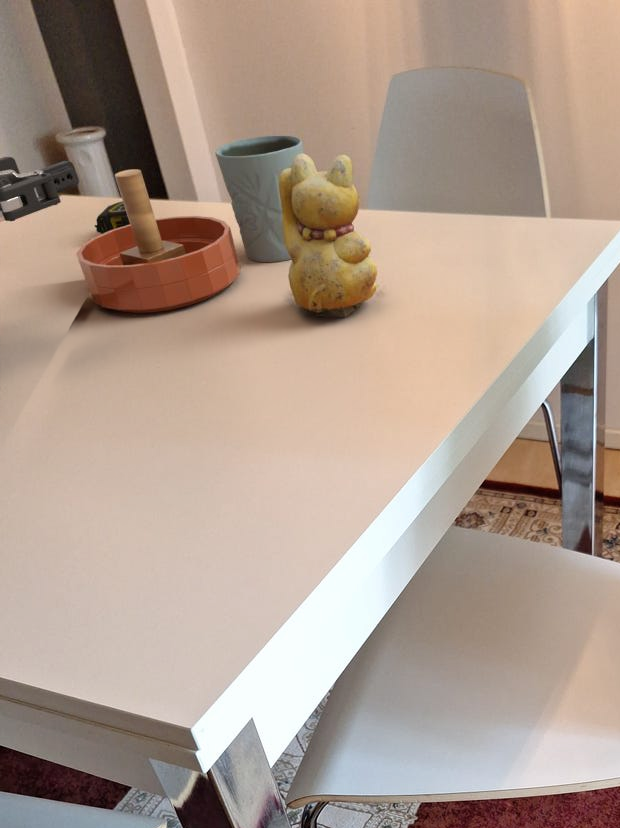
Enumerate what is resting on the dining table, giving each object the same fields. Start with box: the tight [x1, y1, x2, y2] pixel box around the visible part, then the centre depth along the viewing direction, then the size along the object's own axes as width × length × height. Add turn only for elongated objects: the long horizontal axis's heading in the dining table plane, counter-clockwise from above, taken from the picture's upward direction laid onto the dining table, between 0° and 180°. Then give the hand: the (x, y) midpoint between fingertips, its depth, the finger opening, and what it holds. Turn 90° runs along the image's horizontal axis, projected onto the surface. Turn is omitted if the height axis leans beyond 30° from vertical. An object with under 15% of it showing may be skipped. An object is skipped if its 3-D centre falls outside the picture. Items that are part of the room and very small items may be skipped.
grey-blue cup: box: [214, 135, 304, 263], centre depth 112 cm, size 10×10×12 cm
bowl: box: [75, 215, 241, 314], centre depth 107 cm, size 17×17×6 cm
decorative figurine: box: [279, 152, 378, 318], centre depth 94 cm, size 10×8×15 cm
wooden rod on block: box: [114, 168, 186, 265], centre depth 104 cm, size 5×5×12 cm
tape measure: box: [94, 200, 130, 235], centre depth 125 cm, size 7×7×4 cm
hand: (44, 169), depth 92 cm, fingers open, 8 cm apart
